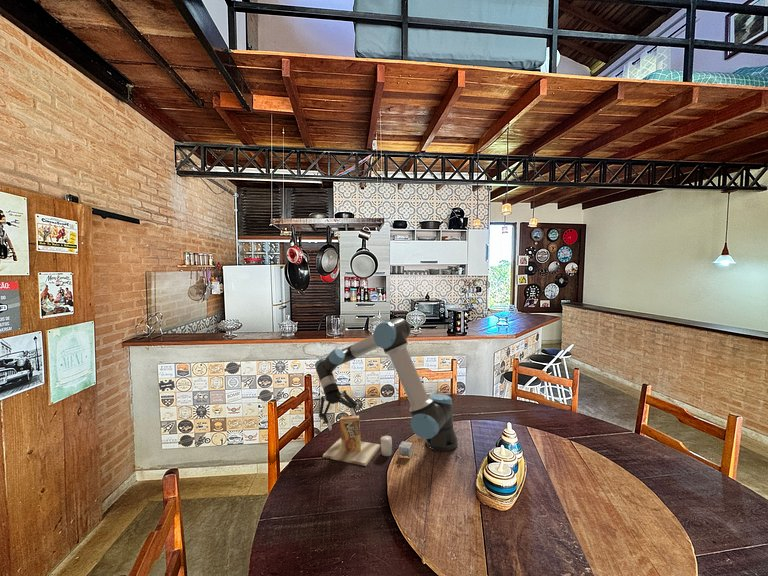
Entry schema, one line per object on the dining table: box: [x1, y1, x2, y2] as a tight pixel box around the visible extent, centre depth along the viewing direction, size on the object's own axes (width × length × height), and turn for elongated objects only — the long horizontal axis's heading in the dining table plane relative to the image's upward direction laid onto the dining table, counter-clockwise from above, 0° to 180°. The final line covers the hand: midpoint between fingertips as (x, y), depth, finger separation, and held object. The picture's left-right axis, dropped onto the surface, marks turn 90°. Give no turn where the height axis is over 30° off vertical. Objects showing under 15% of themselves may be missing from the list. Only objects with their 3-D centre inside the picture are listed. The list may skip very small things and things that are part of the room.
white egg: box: [380, 435, 393, 457], centre depth 149 cm, size 5×5×7 cm
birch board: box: [322, 437, 381, 467], centre depth 152 cm, size 22×16×1 cm
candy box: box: [339, 415, 362, 452], centre depth 152 cm, size 9×4×15 cm, turn 94°
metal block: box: [398, 440, 414, 457], centre depth 147 cm, size 5×5×5 cm
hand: (343, 425), depth 158 cm, fingers open, 13 cm apart
